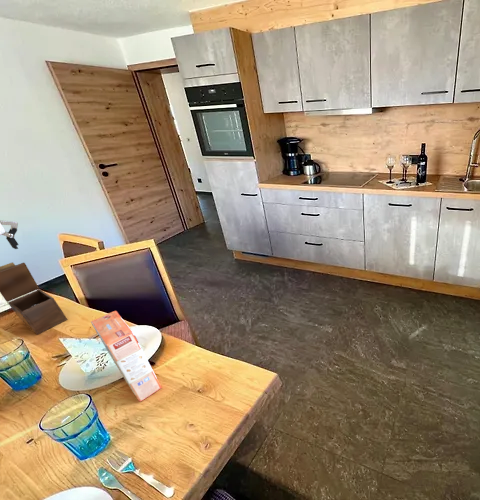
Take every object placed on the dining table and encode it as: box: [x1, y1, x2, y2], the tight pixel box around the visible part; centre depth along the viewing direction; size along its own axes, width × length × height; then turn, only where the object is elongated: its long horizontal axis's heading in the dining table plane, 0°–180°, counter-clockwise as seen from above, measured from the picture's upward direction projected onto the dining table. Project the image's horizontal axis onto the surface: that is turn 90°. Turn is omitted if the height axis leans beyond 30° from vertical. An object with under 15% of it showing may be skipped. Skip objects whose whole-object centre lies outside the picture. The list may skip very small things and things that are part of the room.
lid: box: [0, 262, 40, 303], centre depth 101 cm, size 13×9×5 cm
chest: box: [7, 288, 68, 336], centre depth 104 cm, size 12×9×10 cm
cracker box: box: [90, 310, 162, 403], centre depth 77 cm, size 14×6×21 cm, turn 51°
